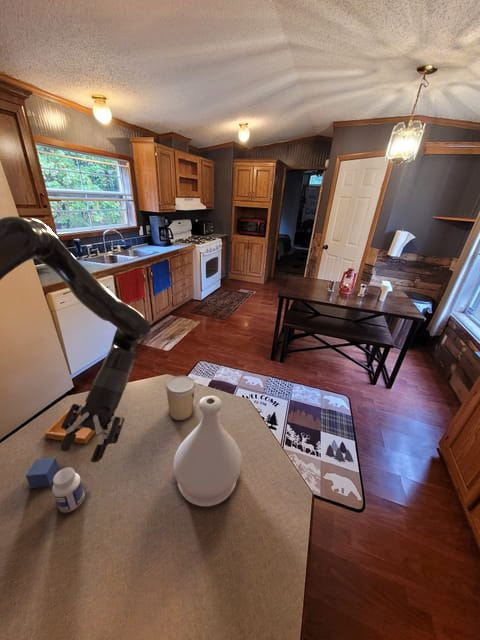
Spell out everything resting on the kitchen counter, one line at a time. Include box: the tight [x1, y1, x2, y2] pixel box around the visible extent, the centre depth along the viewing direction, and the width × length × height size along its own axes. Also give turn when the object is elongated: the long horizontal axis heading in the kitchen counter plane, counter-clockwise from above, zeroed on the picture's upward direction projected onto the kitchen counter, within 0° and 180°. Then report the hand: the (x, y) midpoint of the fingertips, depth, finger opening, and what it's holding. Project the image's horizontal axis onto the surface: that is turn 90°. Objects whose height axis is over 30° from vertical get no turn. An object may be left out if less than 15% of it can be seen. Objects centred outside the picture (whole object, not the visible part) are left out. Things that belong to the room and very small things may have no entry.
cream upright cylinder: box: [165, 375, 196, 421], centre depth 85 cm, size 9×9×12 cm
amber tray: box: [44, 404, 96, 445], centre depth 79 cm, size 12×12×2 cm
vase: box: [173, 395, 243, 507], centre depth 62 cm, size 17×17×25 cm
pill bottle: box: [52, 467, 86, 513], centre depth 57 cm, size 5×5×9 cm
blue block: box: [25, 457, 60, 489], centre depth 63 cm, size 4×4×4 cm
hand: (79, 456), depth 59 cm, fingers open, 8 cm apart
